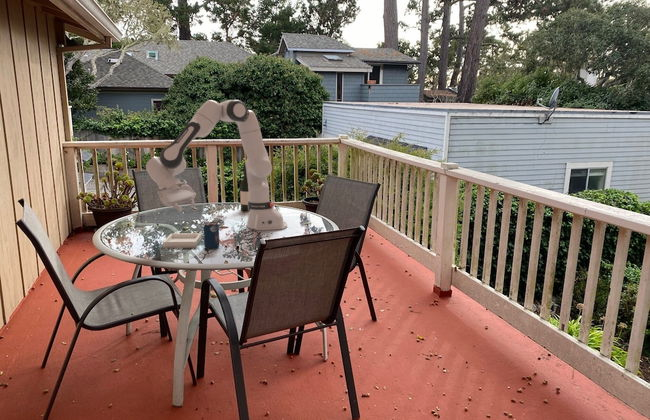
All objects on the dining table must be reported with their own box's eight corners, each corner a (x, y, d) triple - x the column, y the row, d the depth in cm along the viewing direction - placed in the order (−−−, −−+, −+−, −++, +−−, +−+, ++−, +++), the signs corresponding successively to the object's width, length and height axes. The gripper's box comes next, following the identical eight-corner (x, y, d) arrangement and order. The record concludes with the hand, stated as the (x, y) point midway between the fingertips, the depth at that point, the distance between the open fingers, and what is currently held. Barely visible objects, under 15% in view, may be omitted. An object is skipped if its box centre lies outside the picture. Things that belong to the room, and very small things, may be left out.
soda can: (220, 249, 231) (219, 224, 228) (205, 250, 229) (203, 225, 226) (218, 245, 237) (218, 221, 235) (204, 246, 236) (203, 222, 233)
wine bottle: (248, 211, 308) (246, 164, 302) (238, 210, 312) (236, 163, 306) (256, 209, 315) (255, 162, 309) (246, 207, 319) (245, 161, 313)
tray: (201, 239, 248) (201, 233, 247) (196, 247, 233) (195, 241, 233) (171, 239, 247) (170, 233, 246) (163, 248, 232) (163, 241, 231)
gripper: (158, 185, 225) (177, 208, 223) (187, 179, 243) (204, 201, 242) (151, 194, 227) (169, 217, 226) (180, 187, 246) (197, 208, 244)
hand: (187, 208), depth 234 cm, fingers open, 8 cm apart
